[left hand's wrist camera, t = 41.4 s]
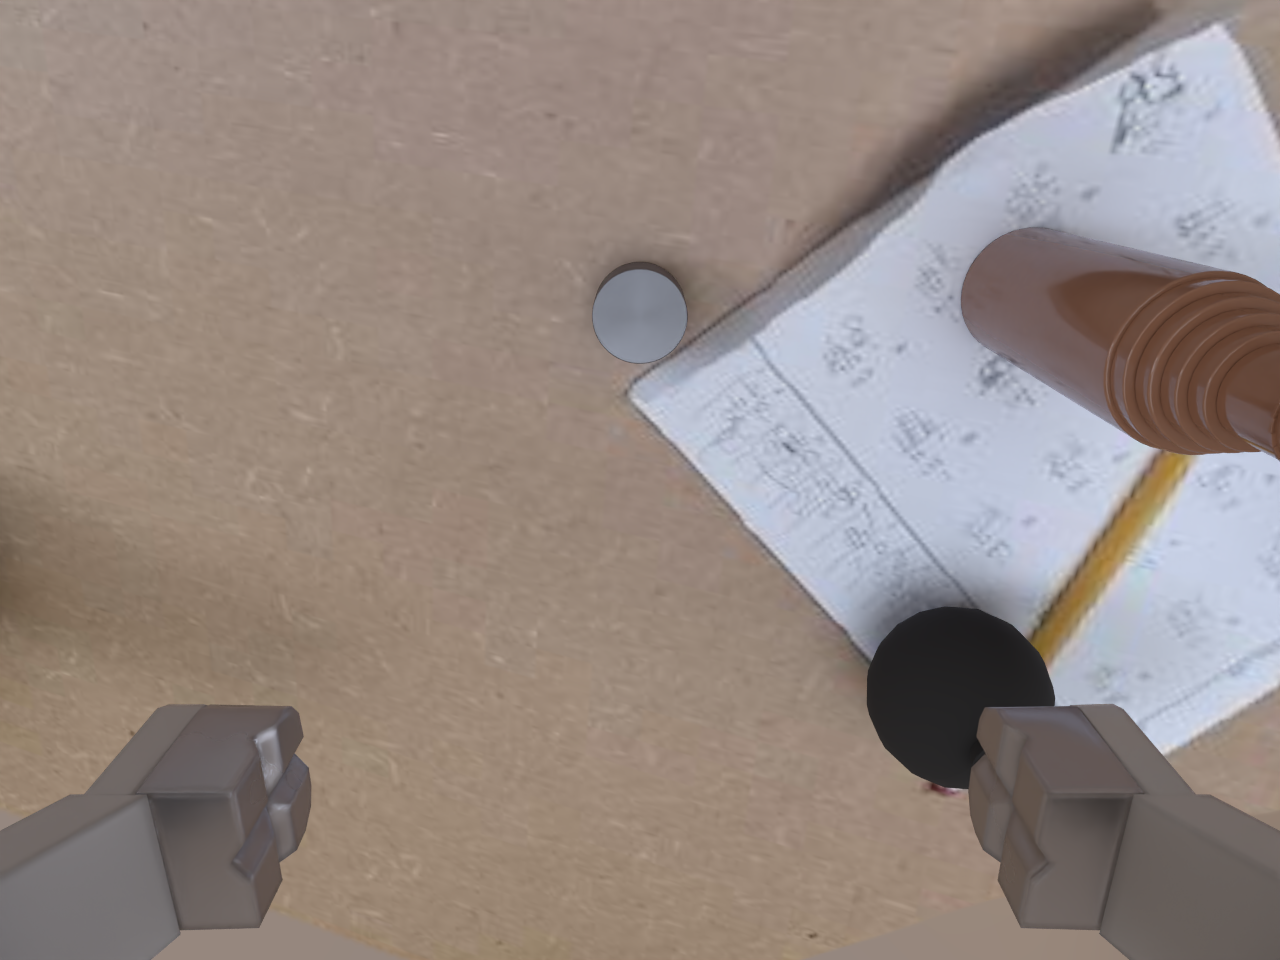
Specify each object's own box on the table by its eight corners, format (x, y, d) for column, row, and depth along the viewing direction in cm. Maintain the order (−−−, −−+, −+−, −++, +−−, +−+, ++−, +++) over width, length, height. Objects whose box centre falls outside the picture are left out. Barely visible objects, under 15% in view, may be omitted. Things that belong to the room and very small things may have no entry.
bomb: (1046, 630, 43) (1187, 803, 32) (935, 741, 46) (1030, 938, 35) (925, 545, 42) (1029, 697, 31) (816, 665, 44) (876, 846, 33)
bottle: (1094, 220, 37) (1498, 299, 19) (1083, 349, 39) (1442, 523, 21) (962, 233, 37) (1247, 322, 20) (958, 360, 39) (1214, 542, 22)
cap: (610, 249, 37) (609, 255, 35) (697, 279, 38) (700, 286, 36) (583, 336, 38) (580, 346, 37) (667, 364, 39) (669, 375, 37)
